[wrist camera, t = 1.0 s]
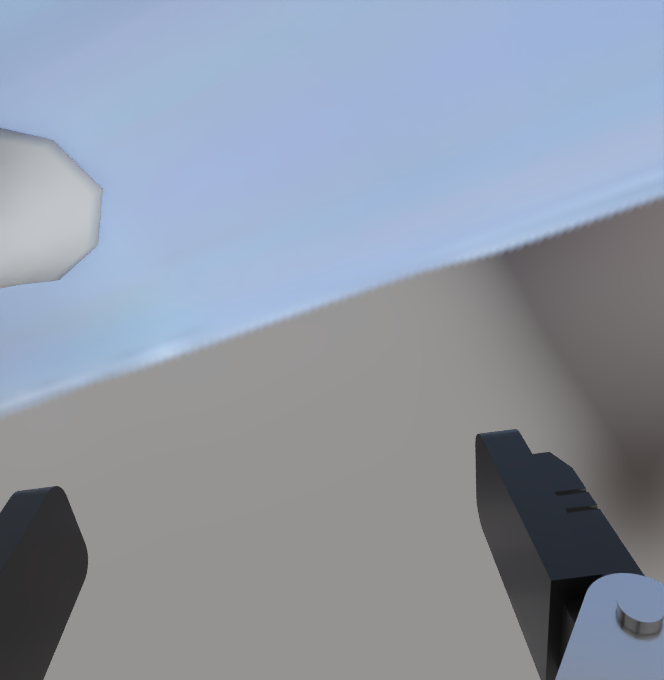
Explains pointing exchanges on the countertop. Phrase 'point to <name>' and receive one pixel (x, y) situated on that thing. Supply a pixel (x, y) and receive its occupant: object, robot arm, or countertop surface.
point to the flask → (43, 210)
